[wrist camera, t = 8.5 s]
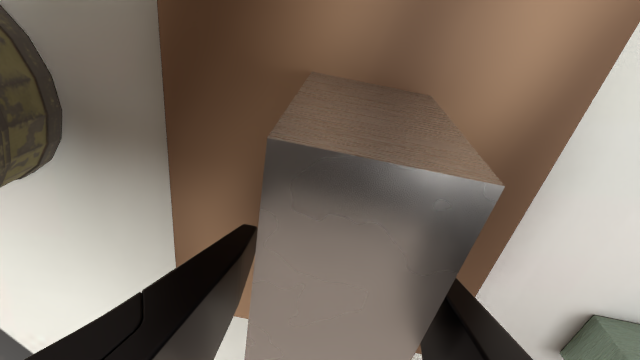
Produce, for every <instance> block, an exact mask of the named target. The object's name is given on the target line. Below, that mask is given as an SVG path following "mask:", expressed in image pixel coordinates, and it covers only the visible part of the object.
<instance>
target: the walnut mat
mask: <svg viewBox="0 0 640 360" xmlns="http://www.w3.org/2000/svg"><path fill="white" fill-rule="evenodd" d="M157 7H158V21H159V35H160V49H161V63H162V77H163V91H164V105H165V119H166V133H167V147H168V161H169V175H170V189H171V203H172V217H173V231H174V245H175V259H176V268H177V267H178V266H180V265H181V264H183V263H184V262H186V261H188V260H189V259H191V258H192V257H194V256H195V255H197V254H198V253H200V252H201V251H203V250H204V249H206V248H207V247H209V246H210V245H212V244H213V243H215V242H216V241H218V240H219V239H221V238H222V237H224V236H225V235H227V234H228V233H230V232H232V231H233V230H235V229H236V228H238V227H239V226H241V225H242V224H249V225H254V226H257V228H258V223H259V213H260V203H261V193H262V183H263V173H264V164H265V154H266V144H267V137H268V136H269V134H270V133H271V131H272V130H273V128H274V127H275V125H276V124H277V122H278V121H279V119H280V118H281V116H282V115H283V113H284V112H285V111H286V109H287V108H288V106H289V105H290V103H291V102H292V100H293V99H294V97H295V96H296V94H297V93H298V91H299V90H300V88H301V87H302V85H303V84H304V83H305V81H306V80H307V78H308V77H309V75H310V74H311V72H317V73H322V74H326V75H331V76H336V77H341V78H346V79H351V80H356V81H361V82H365V83H370V84H375V85H380V86H385V87H390V88H395V89H400V90H404V91H409V92H414V93H419V94H424V95H429V96H432V98H433V99H434V100H435V101H436V102H437V104H438V105H439V106H440V107H441V109H442V110H443V111H444V112H445V113H446V115H447V116H448V117H449V118H450V120H451V121H452V122H453V123H454V125H455V126H456V127H457V128H458V129H459V131H460V132H461V133H462V134H463V136H464V137H465V138H466V139H467V140H468V142H469V143H470V144H471V145H472V147H473V148H474V149H475V150H476V151H477V153H478V154H479V155H480V156H481V158H482V159H483V160H484V161H485V162H486V164H487V165H488V166H489V167H490V169H491V170H492V171H493V172H494V174H495V175H496V176H497V177H498V178H499V180H500V181H501V182H502V183H503V185H504V186H505V188H504V189H503V191H502V193H501V195H500V197H499V199H498V200H497V202H496V204H495V206H494V208H493V210H492V212H491V213H490V215H489V217H488V219H487V221H486V223H485V224H484V226H483V228H482V230H481V232H480V234H479V236H478V237H477V239H476V241H475V243H474V245H473V247H472V249H471V250H470V252H469V254H468V256H467V258H466V260H465V261H464V263H463V265H462V267H461V269H460V271H459V273H458V274H457V276H456V278H457V279H458V280H459V281H460V282H461V283H462V284H463V285H464V287H465V288H466V289H467V290H468V291H469V292H470V293H471V294H472V295H473V296H474V297H475V296H476V294H477V293H478V291H479V289H480V288H481V286H482V284H483V283H484V281H485V279H486V278H487V276H488V274H489V273H490V271H491V269H492V268H493V266H494V264H495V263H496V261H497V259H498V258H499V256H500V254H501V253H502V251H503V249H504V248H505V246H506V244H507V243H508V241H509V239H510V238H511V236H512V234H513V233H514V231H515V229H516V228H517V226H518V224H519V223H520V221H521V219H522V217H523V216H524V214H525V212H526V211H527V209H528V207H529V206H530V204H531V202H532V201H533V199H534V197H535V196H536V194H537V192H538V191H539V189H540V187H541V186H542V184H543V182H544V181H545V179H546V177H547V176H548V174H549V172H550V171H551V169H552V167H553V166H554V164H555V162H556V161H557V159H558V157H559V156H560V154H561V152H562V151H563V149H564V147H565V146H566V144H567V142H568V141H569V139H570V137H571V136H572V134H573V132H574V131H575V129H576V127H577V126H578V124H579V122H580V121H581V119H582V117H583V116H584V114H585V112H586V111H587V109H588V107H589V106H590V104H591V102H592V100H593V99H594V97H595V95H596V94H597V92H598V90H599V89H600V87H601V85H602V84H603V82H604V80H605V79H606V77H607V75H608V74H609V72H610V70H611V69H612V67H613V65H614V64H615V62H616V60H617V59H618V57H619V55H620V54H621V52H622V50H623V49H624V47H625V45H626V44H627V42H628V40H629V39H630V37H631V35H632V34H633V32H634V30H635V29H636V27H637V25H638V24H639V22H640V0H157ZM254 262H255V256H254V259H253V262H252V266H251V269H250V272H249V275H248V278H247V281H246V284H245V287H244V290H243V293H242V296H241V299H240V302H239V305H238V307H237V309H236V312H235V314H234V316H236V317H241V318H246V319H249V311H250V301H251V291H252V281H253V272H254ZM415 353H418V354H422V353H421V346H420V345H419V346H418V348H417V350H416V352H415Z"/></svg>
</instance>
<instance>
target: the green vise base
mask: <svg viewBox="0 0 640 360" xmlns="http://www.w3.org/2000/svg"><path fill="white" fill-rule="evenodd" d="M560 354H561V356H562V357H563V359H564V360H640V324H635V323H630V322H625V321H620V320H615V319H611V318H606V317H601V316H596V315H593V317H592V318H591V319H590V320H589V321H588V322H587V323H586V324H585V325H584V326H583V328H582V329H581V330H580V331H579V332H578V333H577V334H576V335H575V336H574V338H573V339H572V340H571V341H570V342H569V343H568V344H567V345H566V346H565V347H564V349H563V350H562V351H561V352H560Z"/></svg>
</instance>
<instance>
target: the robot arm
mask: <svg viewBox="0 0 640 360" xmlns="http://www.w3.org/2000/svg"><path fill="white" fill-rule="evenodd" d="M257 232H258V228H257V226H254V225H249V224H242V225H241V226H239V227H238V228H236V229H235V230H233V231H232V232H230V233H228V234H227V235H225V236H224V237H222V238H221V239H219V240H218V241H216V242H215V243H213V244H212V245H210V246H209V247H207V248H206V249H204V250H203V251H201V252H200V253H198V254H197V255H195V256H194V257H192V258H191V259H189V260H188V261H186V262H184V263H183V264H181V265H180V266H178V267H177V268H175V269H174V270H172V271H171V272H169V273H168V274H166V275H165V276H163V277H162V278H160V279H159V280H157V281H156V282H154V283H153V284H151V285H150V286H148V287H147V288H145V289H143V290H142V293H141V292H139V293H137V294H136V295H134V296H133V297H131V298H130V299H128V300H127V301H125V302H123V303H122V304H120V305H119V306H117V307H115V308H114V309H112V310H111V311H109V312H107V313H106V314H104V315H103V316H101V317H99V318H98V319H96V320H94V321H92V322H91V323H89V324H87V325H85V326H84V327H82V328H80V329H78V330H77V331H75V332H73V333H71V334H69V335H68V336H66V337H64V338H62V339H60V340H59V341H57V342H55V343H53V344H51V345H49V346H48V347H46V348H44V349H42V350H40V351H39V352H37V353H35V354H33V355H31V356H30V357H28V358H26V359H24V360H214V357H215V355H216V353H217V351H218V349H219V347H220V344H221V342H222V340H223V338H224V336H225V334H226V331H227V329H228V327H229V325H230V323H231V321H232V318H233V316H234V314H235V312H236V309H237V307H238V305H239V302H240V299H241V296H242V293H243V290H244V287H245V284H246V281H247V278H248V275H249V272H250V269H251V266H252V262H253V259H254V256H255V252H256V242H257ZM420 346H421V353H422V360H533V359H532V358H531V357H530V356H529V355H528V354H527V353H526V352H525V350H524V349H523V348H522V347H521V346H520V345H519V344H518V343H517V342H516V341H515V340H514V339H513V338H512V337H511V336H510V334H509V333H508V332H507V331H506V330H505V329H504V328H503V327H502V326H501V325H500V324H499V323H498V322H497V321H496V320H495V319H494V317H493V316H492V315H491V314H490V313H489V312H488V311H487V310H486V309H485V308H484V307H483V306H482V305H481V304H480V303H479V301H478V300H477V299H476V298H475V297H474V296H473V295H472V294H471V293H470V292H469V291H468V290H467V289H466V288H465V287H464V285H463V284H462V283H461V282H460V281H459V280H458V279H457V278H455V280H454V282H453V284H452V285H451V287H450V289H449V291H448V293H447V295H446V297H445V298H444V300H443V302H442V304H441V306H440V308H439V309H438V311H437V313H436V315H435V317H434V319H433V321H432V322H431V324H430V326H429V328H428V330H427V332H426V333H425V335H424V337H423V339H422V341H421V343H420Z"/></svg>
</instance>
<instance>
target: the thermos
mask: <svg viewBox="0 0 640 360" xmlns="http://www.w3.org/2000/svg"><path fill="white" fill-rule="evenodd" d="M61 113H62V110H61V107H60V103H59V100H58V97H57V94H56V90H55V87H54V84H53V81H52V77H51V75H50V73H49V71H48V69H47V68H46V66H45V64H44V63H43V61H42V59H41V58H40V56H39V54H38V52H37V51H36V49H35V47H34V46H33V44H32V42H31V41H30V39H29V37H28V36H27V35H26V34H25V33H24V32H23V30H22V29H21V28H20V27H19V26H18V25H17V24H16V23H15V21H14V20H13V19H12V18H11V17H10V16H9V15H8V14H7V12H6V11H5V10H4V9H3V8H2V7H1V6H0V187H2V186H4V185H6V184H8V183H10V182H12V181H14V180H17V179H22V178H24V177H26V176H28V175H30V174H31V173H33V172H35V171H36V170H38V169H39V168H40V167H42V166H43V165H45V164H46V163H47V162H49V161H50V160H51V159H52V157H53V155H54V153H55V151H56V149H57V146H58V144H59V142H60V140H61Z"/></svg>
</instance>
